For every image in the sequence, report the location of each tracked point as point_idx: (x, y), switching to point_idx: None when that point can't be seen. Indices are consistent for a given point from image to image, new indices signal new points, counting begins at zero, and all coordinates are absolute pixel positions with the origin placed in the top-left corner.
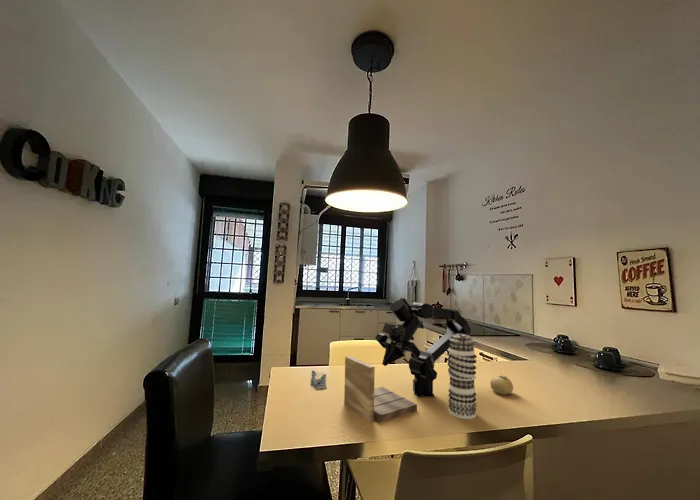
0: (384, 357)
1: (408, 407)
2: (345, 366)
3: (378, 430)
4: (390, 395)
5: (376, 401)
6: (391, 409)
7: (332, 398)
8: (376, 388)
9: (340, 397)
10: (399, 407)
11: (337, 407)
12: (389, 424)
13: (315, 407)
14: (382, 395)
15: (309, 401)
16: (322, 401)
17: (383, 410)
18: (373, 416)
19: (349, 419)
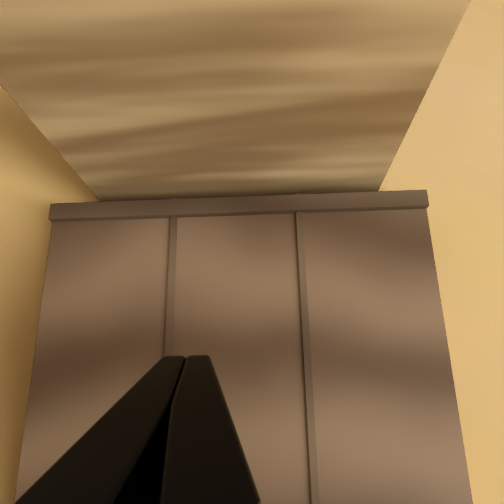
0: (210, 435)
1: (19, 474)
2: None
3: (19, 175)
4: (264, 501)
5: (226, 313)
6: (67, 326)
7: (486, 150)
8: (461, 490)
9: (483, 199)
10: (54, 402)
11: None
12: (24, 259)
13: None
14: (297, 431)
15: (491, 29)
16: (464, 85)
17: (89, 269)
18: (102, 200)
19: None
